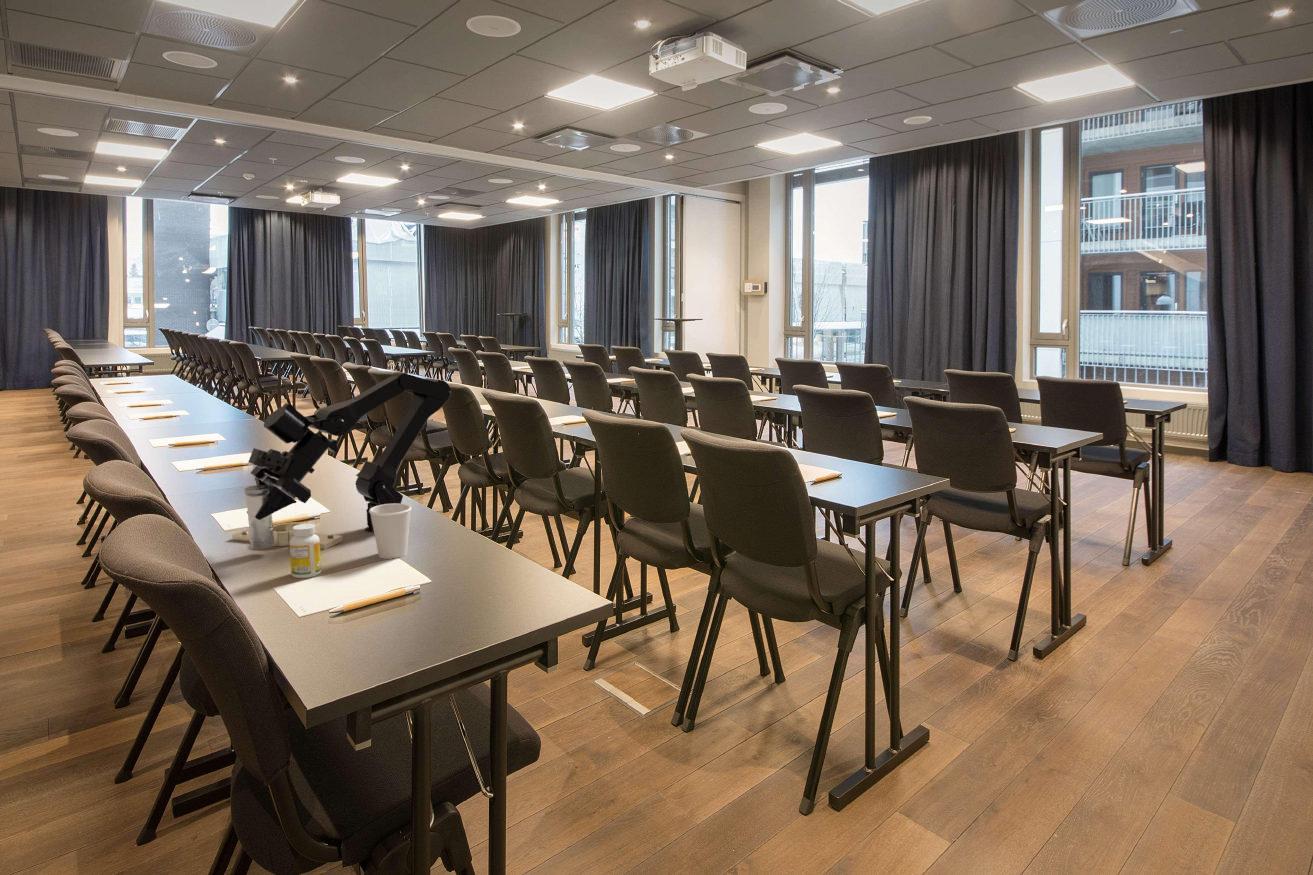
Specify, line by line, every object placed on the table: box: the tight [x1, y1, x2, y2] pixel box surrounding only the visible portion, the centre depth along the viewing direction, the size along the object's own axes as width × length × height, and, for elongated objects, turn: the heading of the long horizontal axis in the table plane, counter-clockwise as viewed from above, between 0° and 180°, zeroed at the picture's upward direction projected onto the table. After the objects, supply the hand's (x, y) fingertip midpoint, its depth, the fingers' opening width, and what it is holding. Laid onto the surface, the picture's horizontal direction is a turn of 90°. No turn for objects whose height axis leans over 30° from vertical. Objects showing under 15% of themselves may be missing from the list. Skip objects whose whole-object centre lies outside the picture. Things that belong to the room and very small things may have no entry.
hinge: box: [232, 521, 344, 550], centre depth 171 cm, size 24×8×3 cm, turn 75°
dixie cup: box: [369, 503, 412, 560], centre depth 161 cm, size 8×8×10 cm
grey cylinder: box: [244, 484, 275, 550], centre depth 160 cm, size 5×5×12 cm
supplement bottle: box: [289, 523, 322, 579], centre depth 149 cm, size 5×5×10 cm
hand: (252, 516), depth 159 cm, fingers closed on grey cylinder, 4 cm apart
